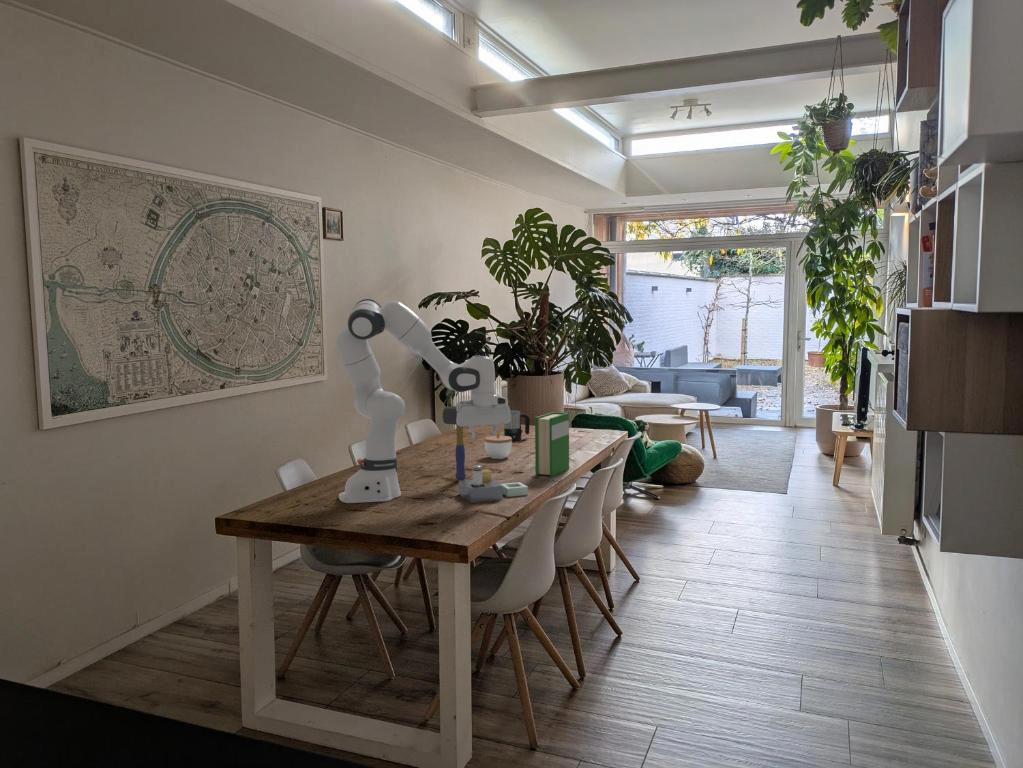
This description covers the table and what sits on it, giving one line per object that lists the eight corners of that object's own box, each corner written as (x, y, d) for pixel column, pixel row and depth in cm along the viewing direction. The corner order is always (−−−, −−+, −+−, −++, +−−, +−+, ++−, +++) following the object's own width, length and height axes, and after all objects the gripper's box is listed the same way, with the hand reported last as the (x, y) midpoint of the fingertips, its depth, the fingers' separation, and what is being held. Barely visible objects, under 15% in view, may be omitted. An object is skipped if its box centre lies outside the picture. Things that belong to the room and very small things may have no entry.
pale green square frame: (507, 496, 280) (507, 488, 280) (500, 492, 287) (500, 484, 287) (528, 494, 283) (527, 486, 282) (520, 489, 290) (520, 482, 290)
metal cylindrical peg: (474, 500, 275) (474, 467, 274) (471, 498, 278) (471, 465, 277) (484, 499, 276) (483, 466, 275) (481, 497, 279) (480, 465, 278)
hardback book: (552, 477, 312) (551, 418, 309) (535, 475, 315) (535, 417, 313) (569, 468, 327) (568, 412, 325) (553, 467, 331) (552, 411, 328)
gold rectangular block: (481, 488, 282) (480, 472, 282) (477, 485, 286) (477, 470, 286) (492, 487, 284) (492, 471, 283) (488, 484, 288) (488, 469, 287)
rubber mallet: (442, 482, 305) (441, 407, 302) (448, 478, 312) (447, 404, 309) (473, 483, 302) (471, 407, 299) (478, 479, 309) (477, 405, 306)
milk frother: (508, 441, 395) (508, 413, 394) (494, 437, 409) (494, 409, 407) (532, 439, 402) (532, 411, 400) (517, 435, 416) (517, 407, 414)
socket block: (470, 502, 272) (470, 488, 271) (459, 494, 285) (458, 480, 284) (502, 499, 276) (502, 485, 276) (489, 491, 289) (489, 477, 289)
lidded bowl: (513, 455, 359) (513, 431, 358) (510, 460, 347) (510, 436, 346) (486, 454, 361) (486, 431, 360) (482, 460, 348) (482, 436, 347)
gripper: (458, 402, 275) (459, 440, 277) (512, 399, 282) (512, 436, 284) (453, 400, 281) (454, 437, 282) (506, 397, 288) (506, 433, 290)
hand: (483, 437), depth 283 cm, fingers open, 6 cm apart
